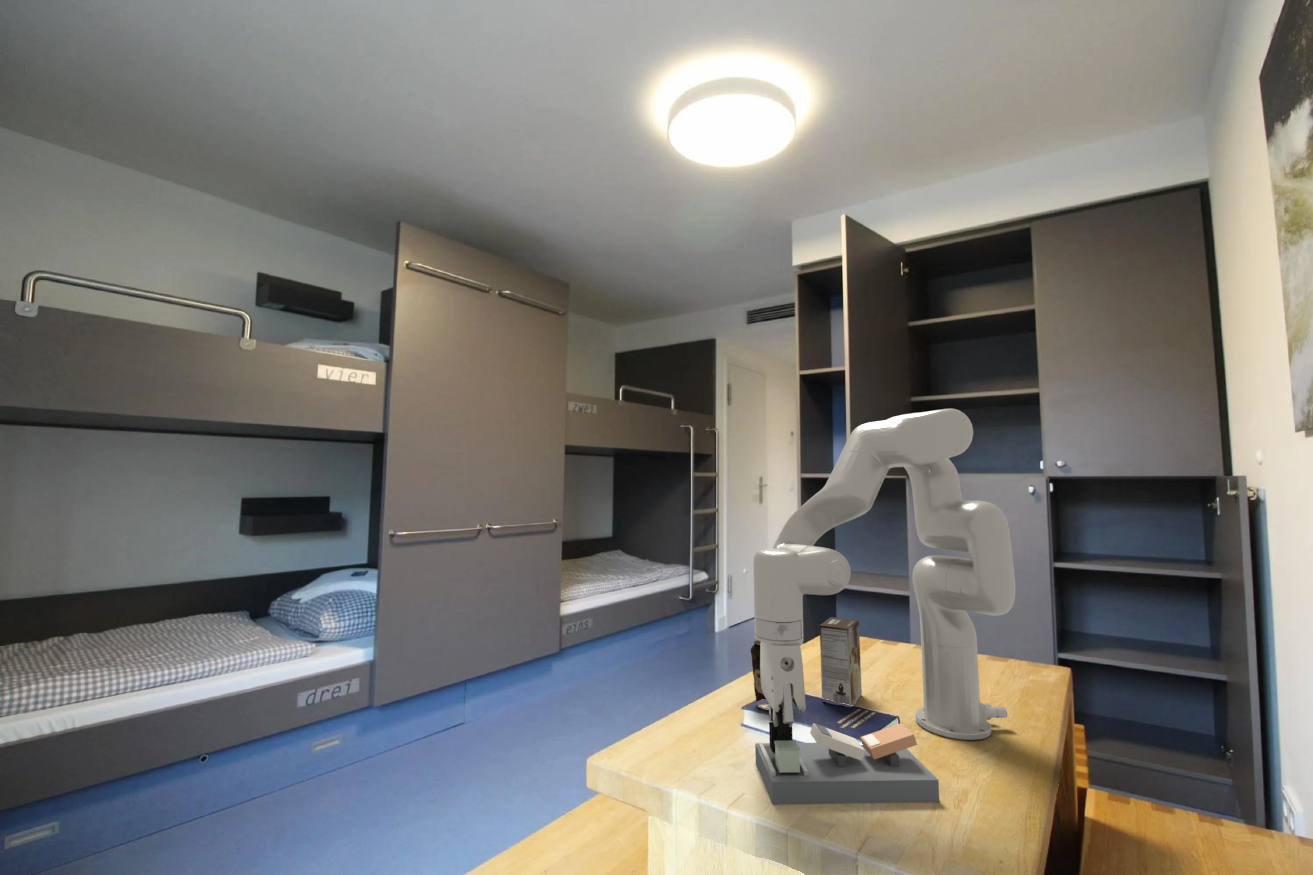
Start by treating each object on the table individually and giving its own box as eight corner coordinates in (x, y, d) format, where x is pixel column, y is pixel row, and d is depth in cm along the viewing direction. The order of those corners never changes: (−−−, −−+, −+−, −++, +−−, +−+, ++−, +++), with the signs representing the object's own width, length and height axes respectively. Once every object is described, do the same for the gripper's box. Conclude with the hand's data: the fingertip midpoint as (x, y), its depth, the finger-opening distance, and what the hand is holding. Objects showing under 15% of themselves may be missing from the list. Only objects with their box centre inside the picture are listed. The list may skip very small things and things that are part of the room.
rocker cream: (851, 748, 87) (855, 737, 87) (861, 760, 83) (865, 749, 83) (810, 732, 87) (813, 721, 87) (817, 744, 83) (821, 733, 83)
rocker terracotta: (904, 733, 87) (901, 722, 87) (917, 744, 83) (913, 733, 83) (863, 746, 87) (859, 735, 87) (874, 759, 83) (870, 747, 83)
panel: (900, 760, 91) (899, 731, 91) (939, 801, 79) (937, 768, 79) (755, 762, 90) (755, 733, 90) (772, 803, 78) (771, 769, 79)
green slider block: (796, 763, 83) (795, 740, 83) (800, 772, 80) (799, 747, 81) (774, 764, 83) (774, 740, 83) (778, 772, 80) (778, 747, 81)
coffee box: (832, 689, 123) (830, 615, 124) (862, 695, 120) (859, 619, 121) (821, 702, 115) (818, 624, 117) (852, 709, 112) (850, 628, 113)
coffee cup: (793, 717, 108) (792, 648, 109) (750, 713, 110) (749, 646, 111) (791, 700, 116) (790, 637, 118) (752, 697, 118) (751, 635, 119)
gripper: (817, 641, 79) (820, 775, 78) (789, 617, 94) (792, 729, 93) (765, 642, 79) (768, 776, 78) (745, 618, 94) (747, 730, 92)
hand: (781, 750), depth 85 cm, fingers closed
